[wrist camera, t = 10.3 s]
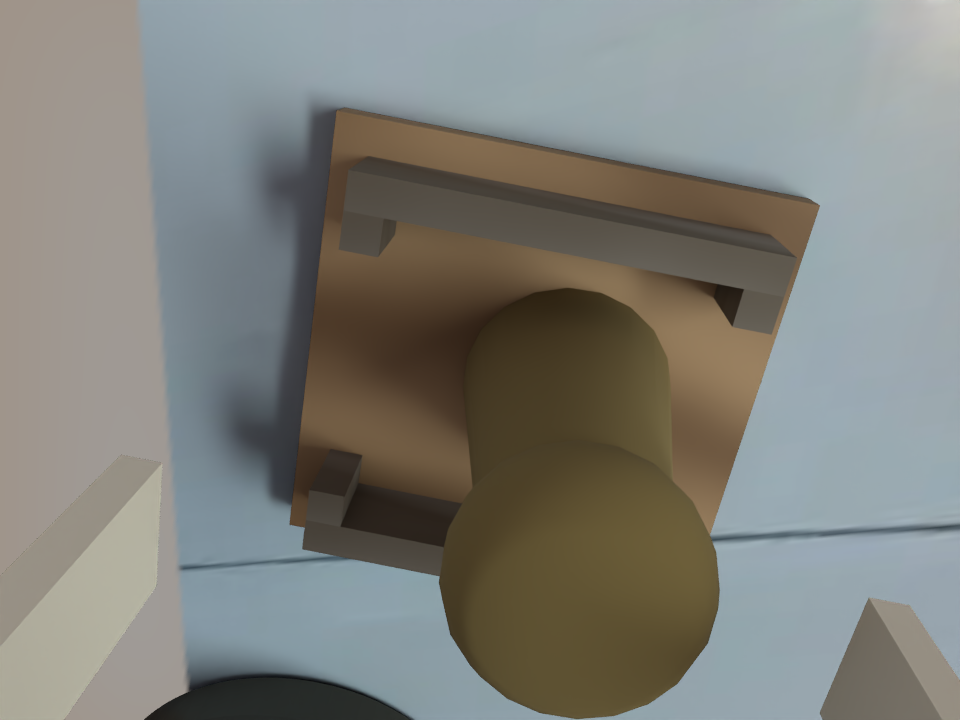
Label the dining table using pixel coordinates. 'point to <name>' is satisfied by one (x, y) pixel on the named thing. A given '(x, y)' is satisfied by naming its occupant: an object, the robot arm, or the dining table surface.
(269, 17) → the dining table surface
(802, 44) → the dining table surface
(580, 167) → the socket
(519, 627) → the cork
